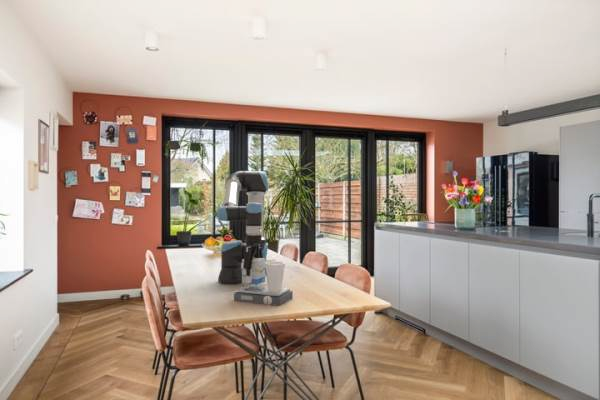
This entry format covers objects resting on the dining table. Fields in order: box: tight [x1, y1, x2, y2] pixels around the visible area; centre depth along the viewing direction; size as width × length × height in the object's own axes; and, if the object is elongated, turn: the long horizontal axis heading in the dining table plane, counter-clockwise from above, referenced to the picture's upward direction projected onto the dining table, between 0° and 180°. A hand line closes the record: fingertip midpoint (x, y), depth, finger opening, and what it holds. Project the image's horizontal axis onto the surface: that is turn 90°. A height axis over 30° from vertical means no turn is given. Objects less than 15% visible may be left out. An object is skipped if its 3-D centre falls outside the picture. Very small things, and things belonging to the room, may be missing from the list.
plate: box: [236, 284, 291, 296], centre depth 201 cm, size 22×13×1 cm, turn 68°
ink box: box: [241, 257, 266, 285], centre depth 203 cm, size 8×8×12 cm
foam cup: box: [265, 260, 286, 292], centre depth 199 cm, size 10×9×13 cm
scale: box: [233, 290, 294, 307], centre depth 201 cm, size 24×15×4 cm, turn 68°
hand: (253, 280), depth 203 cm, fingers closed on ink box, 9 cm apart
